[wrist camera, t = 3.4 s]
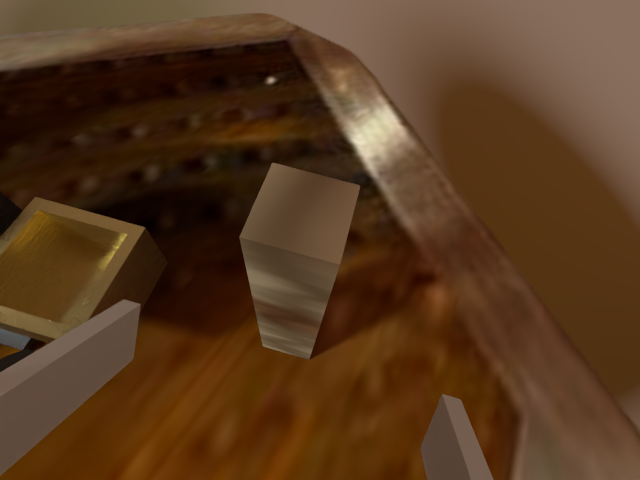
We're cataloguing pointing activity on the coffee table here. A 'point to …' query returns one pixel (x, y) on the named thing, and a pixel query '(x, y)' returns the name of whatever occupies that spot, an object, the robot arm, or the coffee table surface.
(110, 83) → the coffee table surface
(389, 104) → the coffee table surface
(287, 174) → the block
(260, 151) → the coffee table surface
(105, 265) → the bracket
